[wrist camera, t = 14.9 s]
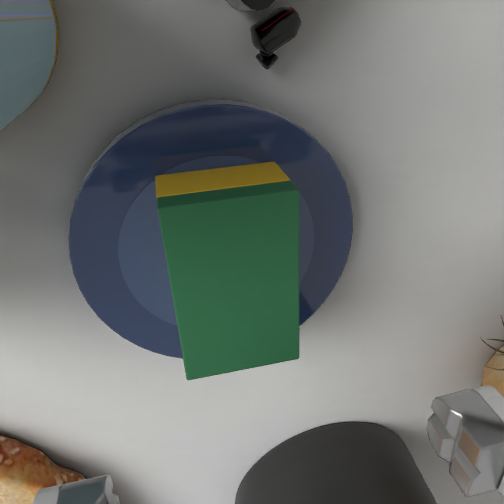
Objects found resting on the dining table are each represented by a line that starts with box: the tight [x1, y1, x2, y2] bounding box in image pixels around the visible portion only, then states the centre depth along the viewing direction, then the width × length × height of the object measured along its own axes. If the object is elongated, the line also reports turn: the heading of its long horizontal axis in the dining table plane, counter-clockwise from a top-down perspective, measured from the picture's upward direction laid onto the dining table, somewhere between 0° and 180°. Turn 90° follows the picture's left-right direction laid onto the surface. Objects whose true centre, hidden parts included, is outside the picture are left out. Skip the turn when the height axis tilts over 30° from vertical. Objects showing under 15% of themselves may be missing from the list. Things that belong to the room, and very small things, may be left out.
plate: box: [69, 99, 353, 358], centre depth 20 cm, size 13×13×1 cm
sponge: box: [155, 162, 299, 380], centre depth 18 cm, size 8×5×4 cm, turn 3°
